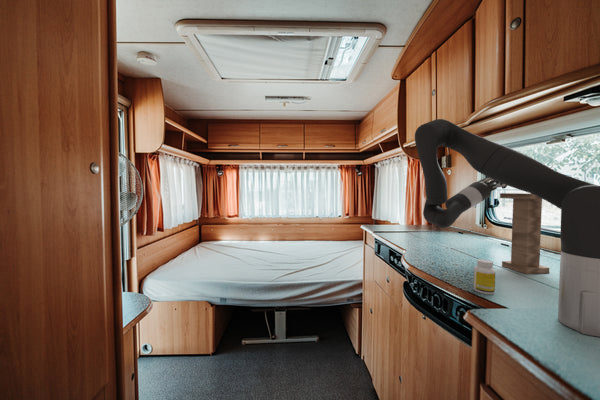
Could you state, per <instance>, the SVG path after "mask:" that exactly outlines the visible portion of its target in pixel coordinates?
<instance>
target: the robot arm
mask: <svg viewBox="0 0 600 400" xmlns="http://www.w3.org/2000/svg"><path fill="white" fill-rule="evenodd" d="M414 141H415V146H416V151H417V154H418V157H419V163H420V165H421V169H422V173H423V178H424V189H425V197H426V199H425V203H424V207H423V213H422V214H423V218H424V220H425V221H426V222H428V223H430V224H431V225H434V226H436V227H439V228H441V229H445V228H449V227H451V226H452V225H454V223H456V221H457V219H458V218H459V217H460V216H461V215H462V214H463V213H465V212H466V211H468V210H470V209H471V208H474V207H475V206H477V205H478V204H480V203H482V202H484V201H485V200H487V199H488V198H489V197H490V196H491V194H492V192H493V191H495V190H497V189H498V188H502V189H503V190H504V189H506V188H507V187H511V188H513V189H516V190H519V191H522V192H524V193H531V194H534V195H536V196H538V197H540V198H542V200H544V201H546V202H548V203H550V204H551V205H553V206H555V207H556V208H559V209H560V238H559V239H560V263H559V284H558V285H559V286H558V310H557V311H558V312H557V319H558V322H560V323H561V324H563V325H565V326H566V327H568V328H571V329H573V330H575V331H577V332H579V333H580V334H583V335H588V336H593V337H599V338H600V185H598V184H594V183H591V182H587V181H584V180H581V179H578V178H576V177H572V176H570V175H566V174H564V173H561V172H559V171H557V170H554V169H553V168H551V167H549V166H547V165H545V164H544V163H542V162H540V161H538V160H536V159H535V158H533V157H531V156H528V155H527V154H524V153H523V152H520V151H519V150H516V149H514V148H510V147H509V146H506V145H503V144H500V143H498V142H495V141H492V140H489V139H487V138H485V137H483V136H480V135H477V134H474V133H472V132H470V131H468V130H466V129H465V128H462V127H461V126H459V125H457V124H455V123H453V122H451V121H449V120H448V119H443V118H438V119H437V118H436V119H432V120H431V121H427V122H425V123H422V124H421V125H419V126H418V127H417V128H416V130H415V132H414ZM439 147H445V148H448V149H451V150H453V151H454V152H457V153H458V154H460V155H461V156H462V157H463V158H464V159H465V160H466V161H467V163H468V164H469V166H470V167H472V168H473V169H474V170H475V171H476V172H478V173H480V174H482V175H483V176H486V177H484V178H482V179H480V180H476V181H473V182H472V183H471V184H469V185H468V186H466V187H464V188H462V189H461V190H460V191H458V192H457V193H455V194H454V195H453V196H451V197H448V194H449V193H448V181H447V178H446V176H445V173H444V172H443V169H441V167H440V164H439V161H438V148H439ZM443 204H444V206H445V208H446V209H445V208H443V207H440V206H441V205H443Z"/></svg>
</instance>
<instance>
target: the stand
mask: <svg viewBox="0 0 600 400" xmlns="http://www.w3.org/2000/svg"><path fill="white" fill-rule="evenodd" d="M499 198H500V199H512V218H511V219H512V222H511V223H512V225H511V226H512V227H511V250H510V253H511V254H510V260H505V261H504V260H502V261H501V266H502V267H504V268H507V267H508V268H507V269H510V270H512V271H517V272H520V273H523V274H526V275H533V274H534V275H535V274H536V273H538V274H550V267H547V266H544V265H540V257H541V234H542V233H541V232H542V211H543V209H542V208H543V207H542V206H543V199H542V198H540V197H538V196H536V195H534V194H531V193H528V192H520V193H519V192H517V193H516V192H513V193H512V192H511V193H510V192H509V193H507V192H504V193H503V192H502V193H499Z"/></svg>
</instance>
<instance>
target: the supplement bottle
mask: <svg viewBox="0 0 600 400" xmlns="http://www.w3.org/2000/svg"><path fill="white" fill-rule="evenodd" d="M493 267H494V262H493V261H492V260H489V259H483V258H482V259H479V258H478V259H477V260H476V266H474V268H473V290H474V291H476V292H477V293H480V294H483V295H494V294H495V292H496V291H495V290H496V270H495V269H494V268H493Z"/></svg>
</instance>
